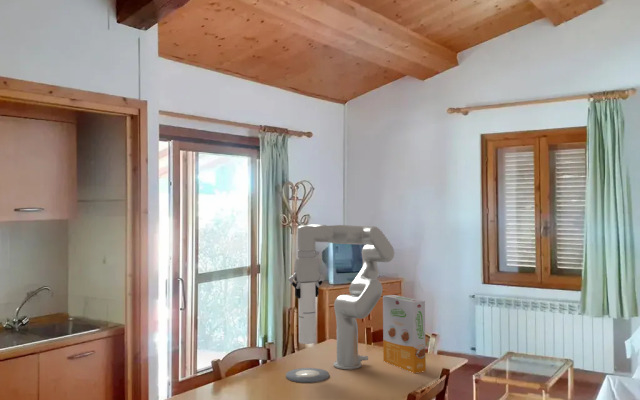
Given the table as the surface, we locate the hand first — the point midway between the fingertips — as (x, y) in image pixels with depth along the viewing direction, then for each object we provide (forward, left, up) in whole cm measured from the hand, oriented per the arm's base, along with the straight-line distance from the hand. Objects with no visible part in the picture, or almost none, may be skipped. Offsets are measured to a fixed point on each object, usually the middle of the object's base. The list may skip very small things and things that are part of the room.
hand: (307, 296), depth 232 cm
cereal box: (-45, +2, -33) cm, 56 cm away
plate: (0, 0, -33) cm, 33 cm away
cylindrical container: (0, 0, -19) cm, 19 cm away
